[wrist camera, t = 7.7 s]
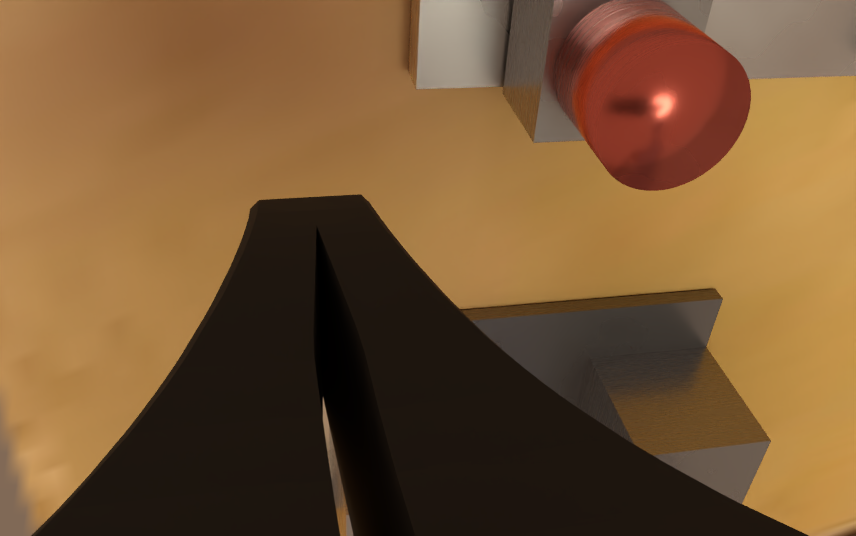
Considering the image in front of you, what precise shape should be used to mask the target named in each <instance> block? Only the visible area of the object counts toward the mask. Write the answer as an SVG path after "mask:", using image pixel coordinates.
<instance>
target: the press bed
mask: <svg viewBox="0 0 856 536" xmlns="http://www.w3.org/2000/svg"><path fill="white" fill-rule="evenodd" d="M722 300H723V298H722V297H721V296H720V294H719V293H718V292H717V291H716V289H709V290H697V291H685V292H673V293H661V294H649V295H637V296H625V297H613V298H601V299H589V300H578V301H566V302H554V303H542V304H530V305H518V306H506V307H494V308H482V309H470V310H461V311H462V312H463V313H464V314H465V315H466V316H467V317H468V318H469V319H470V320H471V321H472V322H473V323H474V324H475V325H476V326H477V327H478V328H479V329H480V330H481V331H482V332H484V333H485V334H486V335H487V336H488V337H489V338H490V339H491V340H492V341H493V342H494V343H496V344H497V345H498V346H499V347H500V348H501V349H502V350H503V351H505V352H506V353H507V354H508V355H509V356H510V357H512V358H513V359H514V360H515V361H516V362H517V363H519V364H520V365H521V366H522V367H524V368H525V369H526V370H528V371H529V372H530V373H531V374H533V375H534V376H535V377H536V378H538V379H539V380H540V381H541V382H543V383H544V384H545V385H547V386H548V387H549V388H551V389H552V390H553V391H555V392H556V393H558V394H559V395H560V396H562V397H563V398H565V399H566V400H567V401H569V402H570V403H572V404H573V405H574V406H576V407H577V408H579V409H580V410H582V411H583V412H585V413H587V414H588V415H590V416H591V417H593V418H594V419H596V420H597V421H599V422H600V423H602V424H603V425H605V426H606V427H608V428H609V429H611V430H612V431H614V432H615V433H617V434H619V435H620V436H622V437H623V438H625V439H626V440H628V441H629V442H631V443H633V444H634V445H636V446H638V447H639V448H641V449H643V450H644V451H646V452H648V453H649V454H651V455H653V456H654V457H656V458H658V459H660V460H661V461H663V462H665V463H666V464H668V465H670V466H672V467H674V468H675V469H677V470H679V471H681V472H683V473H685V474H686V475H688V476H690V477H692V478H694V479H695V480H697V481H699V482H701V483H703V484H705V485H706V486H708V487H710V488H712V489H714V490H716V491H717V492H719V493H721V494H723V495H725V496H727V497H729V498H731V499H732V500H734V501H736V502H738V503H740V504H742V502H743V500H744V498H745V496H746V494H747V492H748V489H749V487H750V485H751V483H752V481H753V479H754V476H755V474H756V472H757V470H758V468H759V466H760V463H761V461H762V459H763V457H764V455H765V453H766V450H767V448H768V446H769V444H770V442H771V440H770V439H769V437H768V436H767V434H766V433H765V431H764V430H763V429H762V427H761V426H760V424H759V423H758V421H757V420H756V418H755V417H754V415H753V414H752V413H751V411H750V410H749V408H748V407H747V405H746V404H745V402H744V401H743V400H742V398H741V397H740V395H739V394H738V392H737V391H736V389H735V388H734V387H733V385H732V384H731V382H730V381H729V379H728V378H727V376H726V375H725V373H724V372H723V371H722V369H721V368H720V366H719V365H718V363H717V362H716V360H715V359H714V358H713V356H712V355H711V353H710V352H709V350H708V349H707V347H706V345H707V343H708V340H709V337H710V334H711V331H712V328H713V326H714V323H715V320H716V317H717V314H718V311H719V309H720V306H721V303H722ZM323 425H324V432H325V438H326V445H327V452H328V459H329V466H330V440H329V422H328V418H327V413H326V408H325V404H324V399H323Z"/></svg>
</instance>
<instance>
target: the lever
mask: <svg viewBox="0 0 856 536" xmlns="http://www.w3.org/2000/svg"><path fill="white" fill-rule="evenodd" d="M712 3H713V0H514V2H513V11H512V19H511V28H510V36H509V45H508V53H507V62H506V70H505V79H504V87H503V95H504V96H505V98H506V99H507V101H508V103H509V104H510V106H511V107H512V109H513V111H514V112H515V114H516V115H517V117H518V119H519V120H520V122H521V123H522V125H523V127H524V128H525V130H526V131H527V133H528V135H529V136H530V138H531V139H532V141H533V143H537V142H560V141H582V140H585V141H586V142H587V143H588V145H589V146H590V148H591V149H592V150H593V152H594V153H595V154H596V156H597V157H598V158H599V160H600V161H601V163H602V164H603V165H604V167H605V168H606V169H607V171H608V172H609V173H610V174H611V175H612V176H613V177H614V178H615V179H616V180H618V181H619V182H621V183H622V184H624V185H627V186H629V187H632V188H635V189H640V190H665V189H669V188H674V187H677V186H680V185H683V184H685V183H688V182H690V181H692V180H694V179H696V178H697V177H699V176H701V175H703V174H704V173H705V172H707V171H708V170H710V169H711V168H712V167H713V166H715V165H716V164H717V163H718V162H719V161H720V160H721V159H722V158H723V157H724V156H725V155H726V154H727V153H728V151H729V150H730V149H731V148H732V146H733V145H734V144H735V142H736V140H737V139H738V137H739V136H740V134H741V132H742V130H743V128H744V125H745V123H746V120H747V117H748V113H749V109H750V101H751V90H750V84H749V80H748V77H747V74H746V72H745V70H744V68H743V66H742V65H741V63H740V62H739V61H738V60H737V59H736V58H735V57H734V56H733V55H732V54H730V53H729V52H728V51H727V50H725V49H724V48H723V47H722V46H720V45H719V44H718V43H716V42H715V41H714V40H713V39H711V38H710V37H709V36H708V35H706V34H705V29H706V25H707V22H708V18H709V14H710V10H711V7H712Z"/></svg>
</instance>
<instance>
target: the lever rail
mask: <svg viewBox="0 0 856 536" xmlns="http://www.w3.org/2000/svg"><path fill="white" fill-rule="evenodd" d="M513 2H514V0H411V23H410V48H409V74H410V76H411V78H412V81H413V83H414V85H415V88H416V89H441V88H473V87H504V79H505V70H506V62H507V53H508V45H509V36H510V28H511V19H512V11H513ZM705 34H706V35H708V36H709V37H710V38H711V39H713V40H714V41H715V42H716V43H718V44H719V45H720V46H722V47H723V48H724V49H725V50H727V51H728V52H729V53H730V54H732V55H733V56H734V57H735V58H736V59H737V60H738V61H739V62H740V63H741V65H742V66H743V68H744V70H745V72H746V74H747V77H748V79H763V78H795V77H827V76H856V0H713V3H712V7H711V10H710V14H709V18H708V22H707V25H706V29H705Z"/></svg>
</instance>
